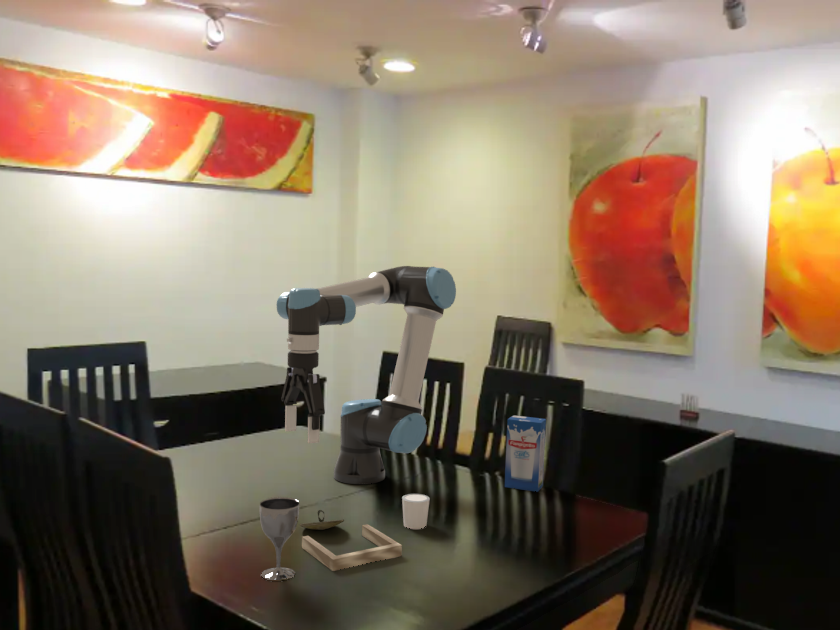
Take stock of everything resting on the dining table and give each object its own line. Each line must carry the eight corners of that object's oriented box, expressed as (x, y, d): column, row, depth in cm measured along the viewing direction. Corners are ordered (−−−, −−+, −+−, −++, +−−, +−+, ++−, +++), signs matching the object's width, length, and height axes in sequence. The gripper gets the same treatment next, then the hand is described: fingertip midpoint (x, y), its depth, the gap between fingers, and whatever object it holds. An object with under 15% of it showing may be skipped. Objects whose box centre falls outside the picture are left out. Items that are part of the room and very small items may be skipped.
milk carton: (504, 487, 228) (507, 419, 226) (510, 481, 234) (513, 415, 232) (538, 491, 224) (541, 422, 223) (543, 486, 230) (546, 418, 228)
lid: (305, 541, 181) (306, 520, 180) (294, 526, 190) (295, 506, 189) (349, 536, 185) (349, 515, 184) (336, 522, 194) (337, 502, 194)
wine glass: (260, 566, 165) (262, 497, 164) (299, 566, 166) (300, 497, 165) (256, 582, 157) (257, 509, 156) (296, 582, 158) (297, 509, 157)
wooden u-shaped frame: (367, 534, 186) (367, 524, 186) (401, 556, 174) (401, 545, 173) (301, 547, 176) (302, 536, 176) (332, 571, 164) (333, 559, 164)
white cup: (425, 531, 189) (426, 503, 189) (398, 528, 191) (399, 500, 190) (431, 522, 196) (432, 494, 196) (404, 519, 198) (405, 492, 197)
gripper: (269, 345, 201) (268, 427, 203) (311, 358, 180) (309, 449, 182) (296, 344, 205) (294, 424, 207) (340, 356, 185) (338, 445, 186)
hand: (301, 436), depth 195 cm, fingers open, 13 cm apart
